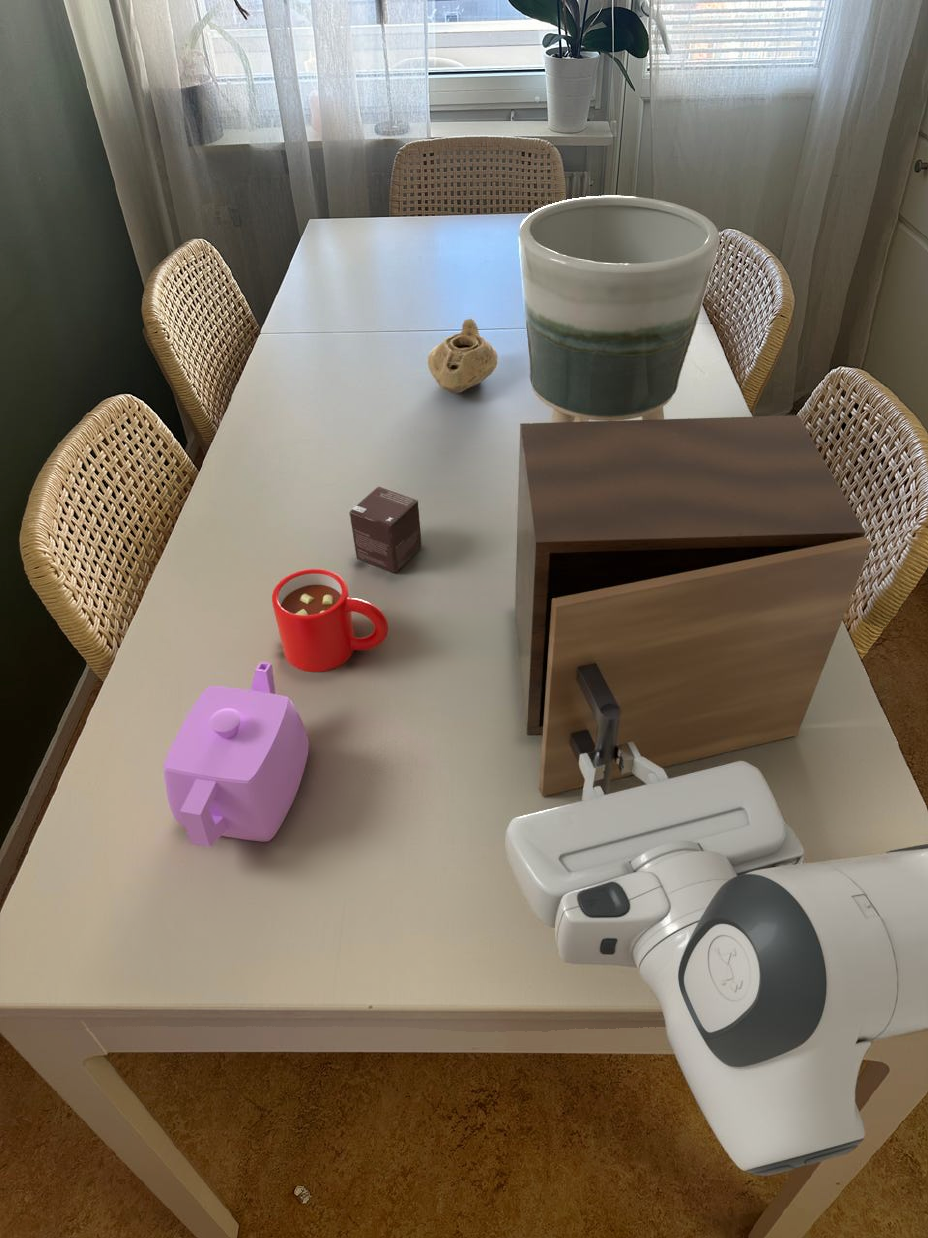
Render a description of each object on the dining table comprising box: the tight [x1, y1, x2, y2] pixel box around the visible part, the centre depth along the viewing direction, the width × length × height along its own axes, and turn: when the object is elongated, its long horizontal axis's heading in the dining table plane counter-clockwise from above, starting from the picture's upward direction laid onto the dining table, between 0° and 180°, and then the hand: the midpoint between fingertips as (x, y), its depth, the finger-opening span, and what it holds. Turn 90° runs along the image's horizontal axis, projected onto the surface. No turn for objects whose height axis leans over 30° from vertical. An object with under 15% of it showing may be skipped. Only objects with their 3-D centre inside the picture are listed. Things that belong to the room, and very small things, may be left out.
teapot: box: [163, 661, 310, 848], centre depth 79 cm, size 18×10×10 cm, turn 169°
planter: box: [518, 195, 721, 423], centre depth 106 cm, size 22×22×33 cm
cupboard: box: [514, 414, 867, 736], centre depth 84 cm, size 18×26×24 cm
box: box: [349, 485, 423, 574], centre depth 104 cm, size 6×6×7 cm
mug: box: [271, 568, 389, 673], centre depth 93 cm, size 8×12×8 cm, turn 83°
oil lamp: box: [427, 318, 498, 394], centre depth 134 cm, size 11×15×8 cm
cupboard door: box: [538, 536, 873, 797], centre depth 73 cm, size 7×26×24 cm, turn 105°
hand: (604, 752), depth 69 cm, fingers closed on cupboard door, 2 cm apart
